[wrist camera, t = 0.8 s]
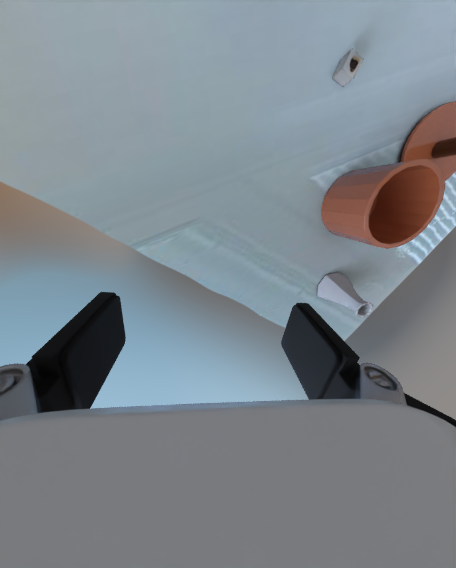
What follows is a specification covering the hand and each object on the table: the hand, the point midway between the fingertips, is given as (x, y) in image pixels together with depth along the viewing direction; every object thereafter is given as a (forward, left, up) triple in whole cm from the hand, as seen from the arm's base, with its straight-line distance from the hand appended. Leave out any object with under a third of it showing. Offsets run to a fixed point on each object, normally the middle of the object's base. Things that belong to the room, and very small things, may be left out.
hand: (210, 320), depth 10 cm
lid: (-21, +37, -26) cm, 50 cm away
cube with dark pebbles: (-26, +16, -27) cm, 41 cm away
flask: (+7, +30, -27) cm, 41 cm away
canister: (-10, +26, -27) cm, 39 cm away
